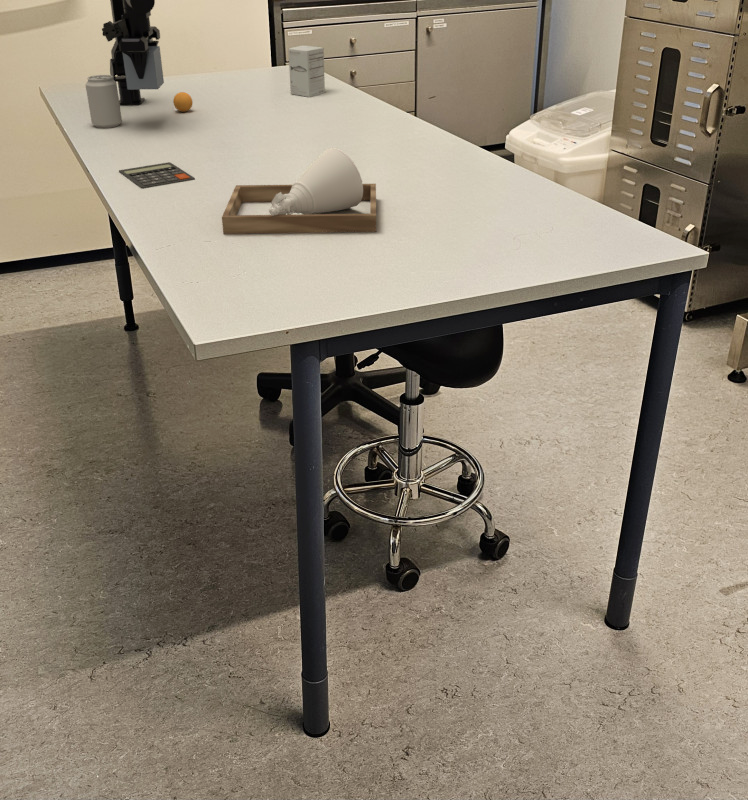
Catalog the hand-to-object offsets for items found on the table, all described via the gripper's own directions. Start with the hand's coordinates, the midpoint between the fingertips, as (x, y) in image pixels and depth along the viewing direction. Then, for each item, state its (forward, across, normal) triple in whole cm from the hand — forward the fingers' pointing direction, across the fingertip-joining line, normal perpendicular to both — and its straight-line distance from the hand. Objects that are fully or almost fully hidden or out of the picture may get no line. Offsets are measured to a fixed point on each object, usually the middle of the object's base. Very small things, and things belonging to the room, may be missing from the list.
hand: (144, 75), depth 229 cm
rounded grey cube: (+3, 0, 0) cm, 3 cm away
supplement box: (+13, -35, +38) cm, 53 cm away
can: (+12, 0, -11) cm, 17 cm away
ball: (+10, -14, +6) cm, 18 cm away
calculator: (+12, +46, +11) cm, 49 cm away
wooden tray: (+10, +74, +44) cm, 87 cm away
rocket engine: (+10, +74, +44) cm, 87 cm away
